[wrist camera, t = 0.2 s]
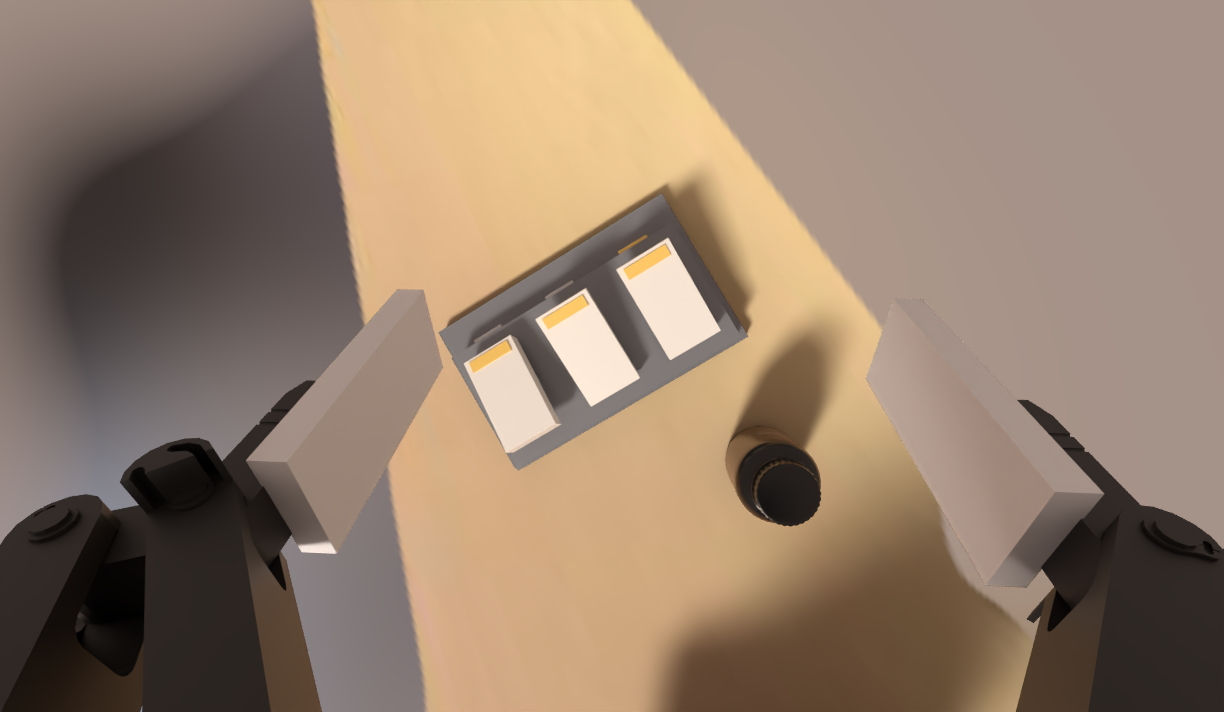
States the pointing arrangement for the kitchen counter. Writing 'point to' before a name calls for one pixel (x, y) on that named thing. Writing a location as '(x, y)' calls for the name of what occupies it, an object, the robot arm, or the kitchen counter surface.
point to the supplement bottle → (773, 476)
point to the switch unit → (599, 275)
